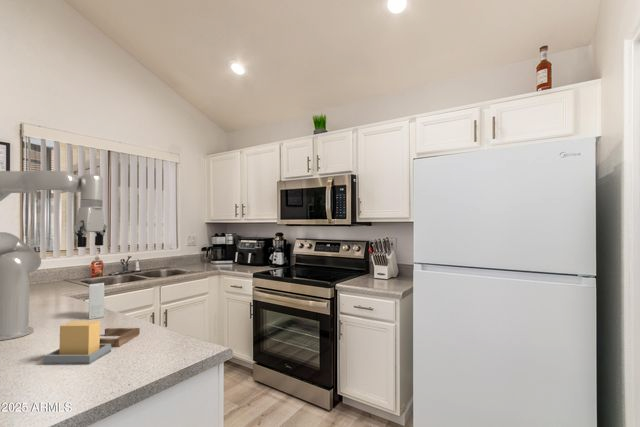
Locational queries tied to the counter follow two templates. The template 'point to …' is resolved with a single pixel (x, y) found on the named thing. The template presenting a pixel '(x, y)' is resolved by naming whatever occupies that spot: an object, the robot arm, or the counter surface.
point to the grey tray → (77, 356)
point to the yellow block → (79, 338)
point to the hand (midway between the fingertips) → (90, 246)
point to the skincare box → (96, 300)
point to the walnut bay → (124, 334)
